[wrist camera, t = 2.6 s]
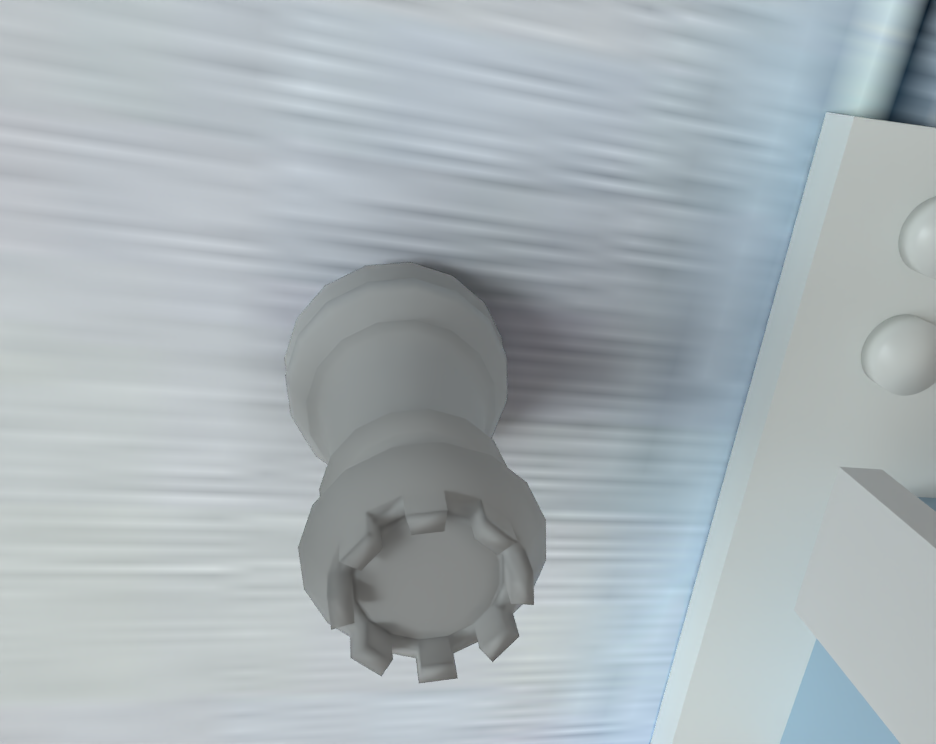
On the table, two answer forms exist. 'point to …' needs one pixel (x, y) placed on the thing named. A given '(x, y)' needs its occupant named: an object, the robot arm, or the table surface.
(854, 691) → the blue brick
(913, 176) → the build plate
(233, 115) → the table surface
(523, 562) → the rook chess piece
